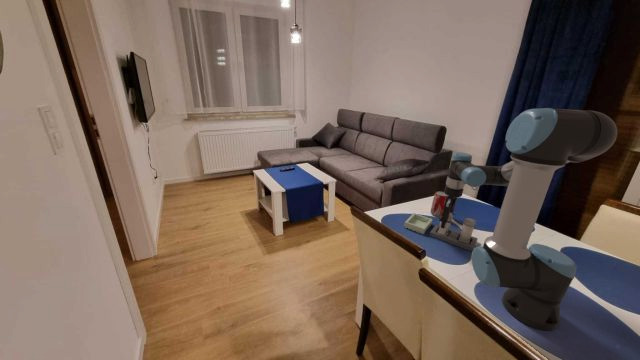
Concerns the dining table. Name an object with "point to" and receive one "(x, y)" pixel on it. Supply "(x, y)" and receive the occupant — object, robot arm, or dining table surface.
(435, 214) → the soda can
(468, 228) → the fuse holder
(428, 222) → the tray
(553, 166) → the robot arm
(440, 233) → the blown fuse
